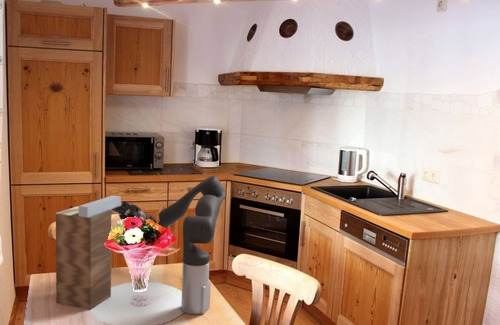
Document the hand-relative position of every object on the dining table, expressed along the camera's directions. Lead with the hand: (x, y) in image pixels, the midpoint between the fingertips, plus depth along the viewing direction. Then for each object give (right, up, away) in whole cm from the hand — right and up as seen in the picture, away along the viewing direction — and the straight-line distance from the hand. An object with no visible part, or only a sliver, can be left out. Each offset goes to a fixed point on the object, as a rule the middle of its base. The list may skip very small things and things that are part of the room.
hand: (112, 202), depth 178 cm
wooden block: (-9, -34, -6) cm, 36 cm away
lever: (-2, -2, -8) cm, 8 cm away
